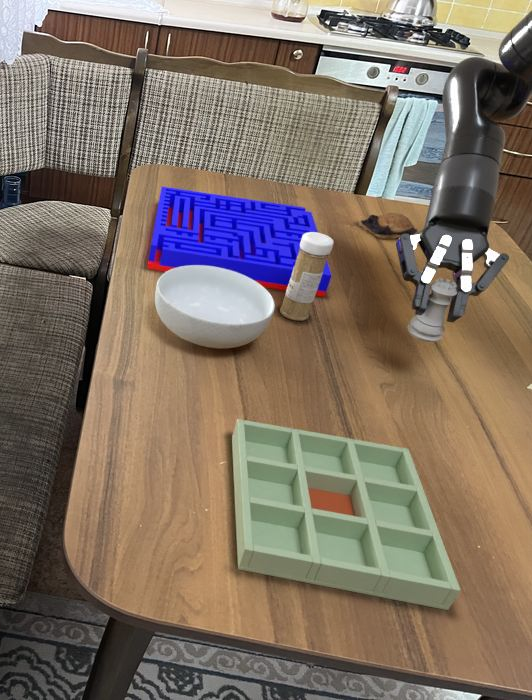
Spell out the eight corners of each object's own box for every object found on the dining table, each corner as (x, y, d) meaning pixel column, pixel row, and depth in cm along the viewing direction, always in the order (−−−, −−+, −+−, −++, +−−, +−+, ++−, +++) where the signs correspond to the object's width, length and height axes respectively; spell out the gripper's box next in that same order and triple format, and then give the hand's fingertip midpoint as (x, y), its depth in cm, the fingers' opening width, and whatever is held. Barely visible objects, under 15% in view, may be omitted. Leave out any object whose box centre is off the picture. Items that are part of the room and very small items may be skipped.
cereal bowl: (146, 355, 95) (154, 312, 91) (151, 297, 109) (158, 257, 105) (269, 373, 94) (282, 330, 90) (257, 313, 108) (269, 273, 104)
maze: (324, 296, 114) (331, 275, 112) (147, 268, 117) (150, 247, 115) (304, 226, 139) (310, 208, 137) (158, 204, 142) (161, 186, 140)
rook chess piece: (432, 347, 90) (456, 294, 86) (400, 332, 93) (422, 280, 88) (446, 336, 93) (470, 285, 88) (414, 322, 95) (436, 271, 91)
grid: (399, 467, 80) (408, 448, 79) (448, 610, 64) (461, 590, 63) (231, 437, 82) (237, 418, 81) (237, 569, 66) (245, 549, 64)
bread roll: (396, 221, 146) (402, 205, 144) (423, 237, 140) (430, 221, 138) (354, 222, 143) (360, 206, 141) (380, 239, 137) (386, 222, 135)
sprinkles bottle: (277, 305, 111) (301, 229, 103) (306, 309, 110) (331, 233, 103) (281, 319, 107) (305, 241, 99) (310, 324, 106) (337, 246, 99)
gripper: (415, 174, 90) (386, 295, 87) (533, 195, 86) (507, 322, 83) (399, 199, 97) (372, 312, 94) (507, 219, 94) (483, 337, 91)
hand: (436, 316), depth 89 cm, fingers closed on rook chess piece, 3 cm apart
